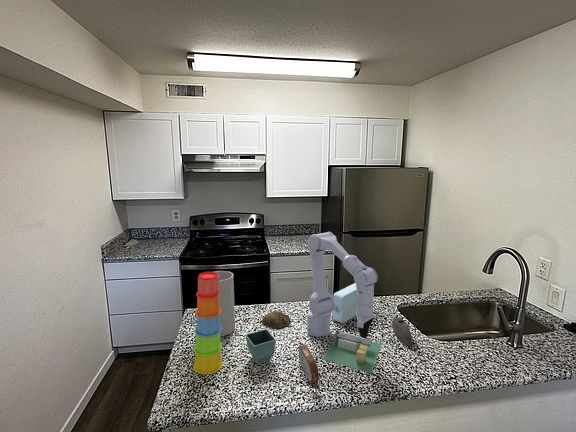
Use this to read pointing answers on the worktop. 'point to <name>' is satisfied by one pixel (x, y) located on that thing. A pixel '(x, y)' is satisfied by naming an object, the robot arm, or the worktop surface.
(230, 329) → the cylinder vase
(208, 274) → the stacking cups
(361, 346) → the block
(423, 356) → the worktop surface
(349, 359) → the green board with slider
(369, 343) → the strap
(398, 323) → the perforated stone tool
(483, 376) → the worktop surface
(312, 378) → the tin
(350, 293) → the light blue box
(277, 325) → the bread roll
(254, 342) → the flower pot
